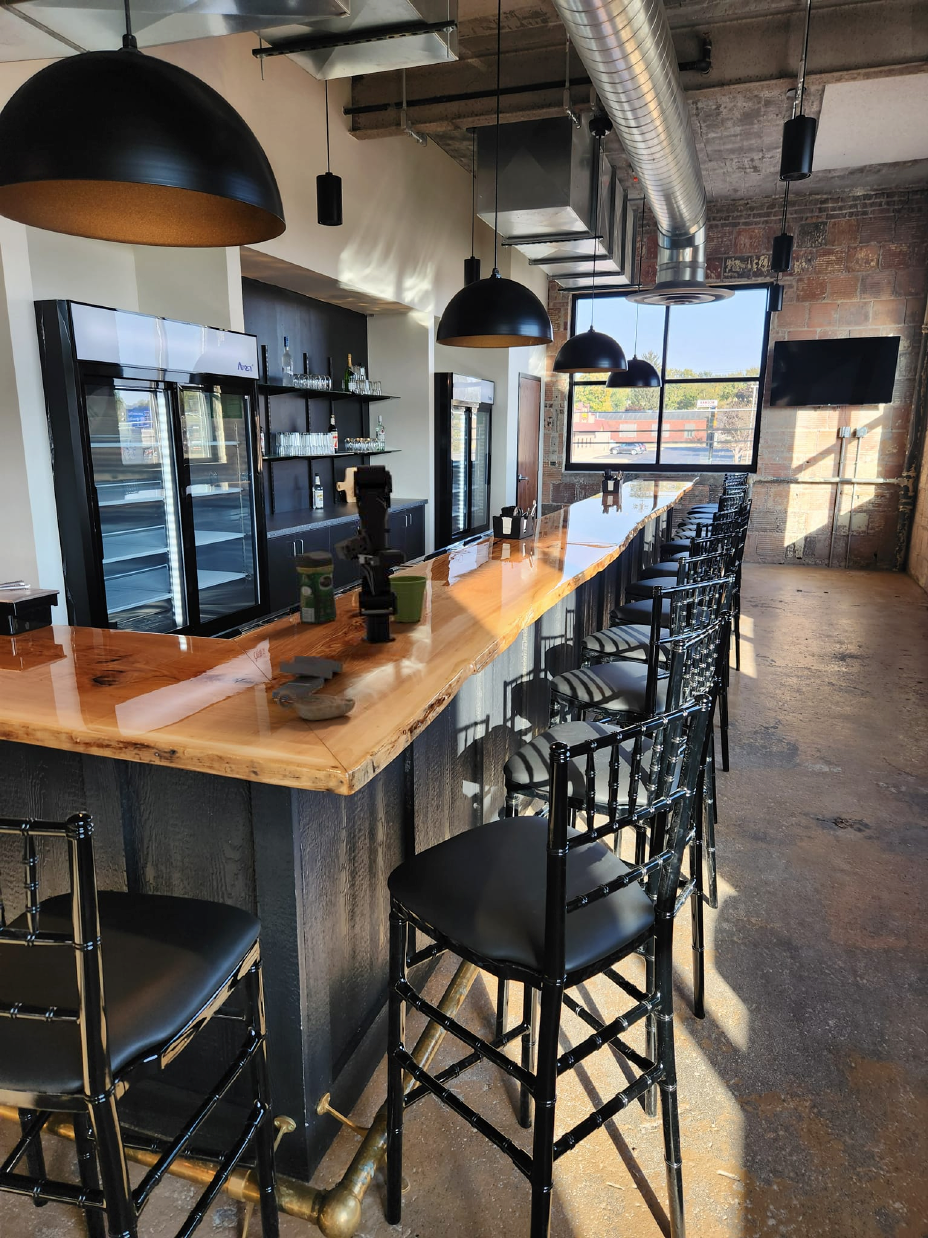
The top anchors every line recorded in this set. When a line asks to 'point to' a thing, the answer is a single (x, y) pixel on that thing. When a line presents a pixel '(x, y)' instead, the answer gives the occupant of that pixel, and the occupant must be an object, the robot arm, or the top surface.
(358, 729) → the top surface
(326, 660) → the domino
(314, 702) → the oil lamp
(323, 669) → the domino
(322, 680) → the domino
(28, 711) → the top surface
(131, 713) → the top surface
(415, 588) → the plant pot
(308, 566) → the coffee jar
